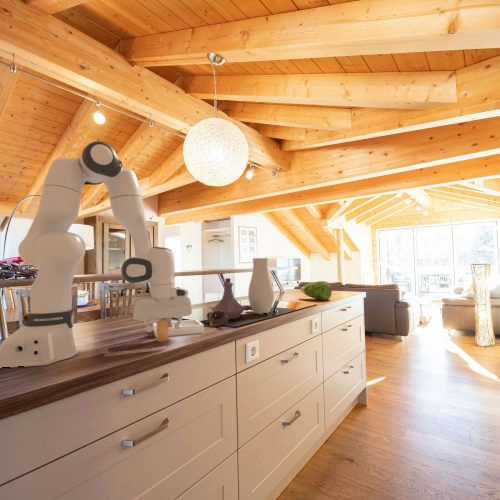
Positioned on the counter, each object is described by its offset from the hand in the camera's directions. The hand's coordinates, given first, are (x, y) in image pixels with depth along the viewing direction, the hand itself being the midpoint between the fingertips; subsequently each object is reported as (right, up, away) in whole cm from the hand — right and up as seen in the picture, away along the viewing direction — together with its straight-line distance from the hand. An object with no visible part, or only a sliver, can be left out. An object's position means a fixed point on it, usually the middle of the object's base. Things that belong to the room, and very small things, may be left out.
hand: (163, 330), depth 117 cm
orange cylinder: (0, -4, -1) cm, 5 cm away
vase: (+37, -6, +59) cm, 70 cm away
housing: (+2, -5, +13) cm, 14 cm away
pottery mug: (+16, -5, +27) cm, 32 cm away
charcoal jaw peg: (-2, -4, +11) cm, 12 cm away
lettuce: (+78, -7, +116) cm, 140 cm away
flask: (+20, -6, +47) cm, 52 cm away
